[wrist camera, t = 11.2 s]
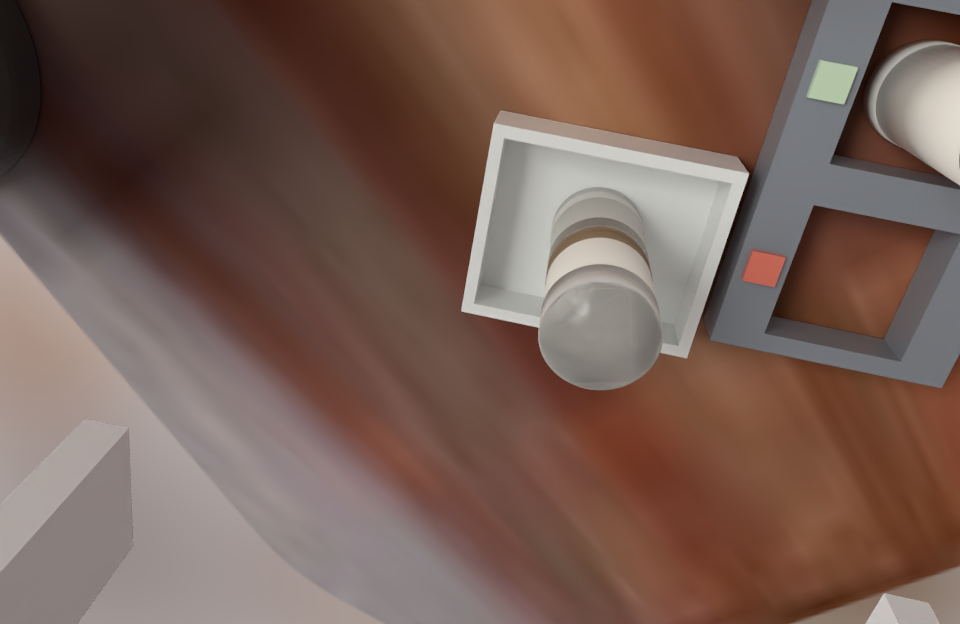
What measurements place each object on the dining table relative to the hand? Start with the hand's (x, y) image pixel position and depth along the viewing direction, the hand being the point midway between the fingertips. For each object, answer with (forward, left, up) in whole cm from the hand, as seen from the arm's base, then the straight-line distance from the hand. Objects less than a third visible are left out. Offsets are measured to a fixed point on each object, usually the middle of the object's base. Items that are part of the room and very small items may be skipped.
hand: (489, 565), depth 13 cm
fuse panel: (+16, +2, -29) cm, 33 cm away
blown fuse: (+3, -3, -28) cm, 28 cm away
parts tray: (+3, -3, -29) cm, 29 cm away
